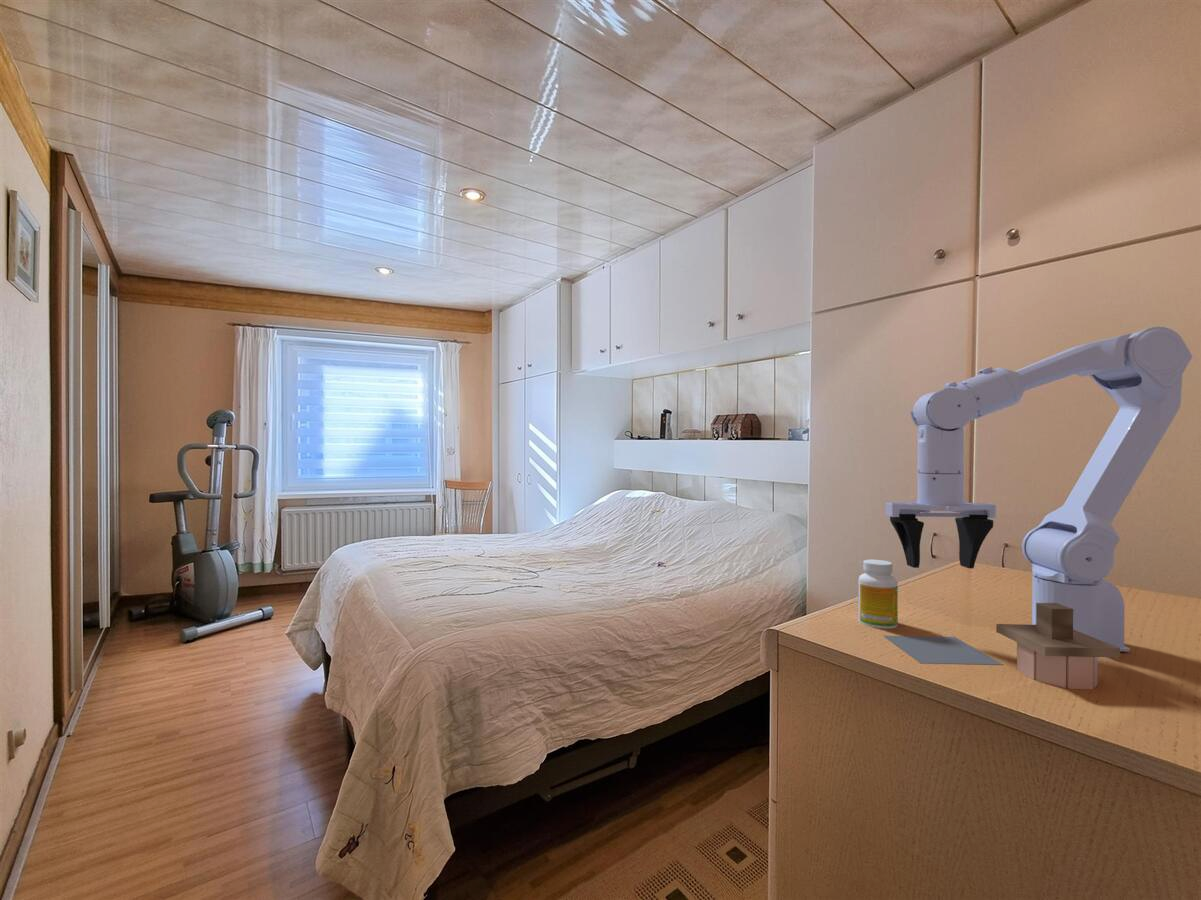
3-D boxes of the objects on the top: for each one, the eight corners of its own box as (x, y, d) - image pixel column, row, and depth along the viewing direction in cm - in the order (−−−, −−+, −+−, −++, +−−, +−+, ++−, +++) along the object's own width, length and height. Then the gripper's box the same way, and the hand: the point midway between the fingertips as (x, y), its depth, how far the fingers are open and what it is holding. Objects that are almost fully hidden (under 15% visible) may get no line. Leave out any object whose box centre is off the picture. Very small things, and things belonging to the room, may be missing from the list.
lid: (1062, 633, 68) (1062, 597, 68) (1120, 657, 60) (1120, 616, 60) (996, 631, 69) (996, 596, 69) (1045, 656, 61) (1045, 615, 61)
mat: (954, 639, 77) (954, 636, 77) (1003, 667, 68) (1003, 664, 68) (882, 638, 78) (882, 635, 78) (920, 666, 68) (920, 662, 68)
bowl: (1063, 667, 68) (1063, 635, 68) (1113, 692, 61) (1113, 656, 61) (1004, 666, 68) (1005, 634, 68) (1048, 691, 61) (1048, 655, 61)
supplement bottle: (902, 632, 81) (903, 566, 81) (863, 629, 82) (863, 564, 82) (891, 620, 86) (891, 559, 86) (854, 618, 87) (854, 557, 87)
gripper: (903, 474, 76) (902, 572, 76) (1011, 474, 75) (1010, 573, 75) (879, 472, 83) (879, 561, 83) (978, 472, 82) (977, 562, 82)
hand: (939, 566), depth 80 cm, fingers open, 7 cm apart
